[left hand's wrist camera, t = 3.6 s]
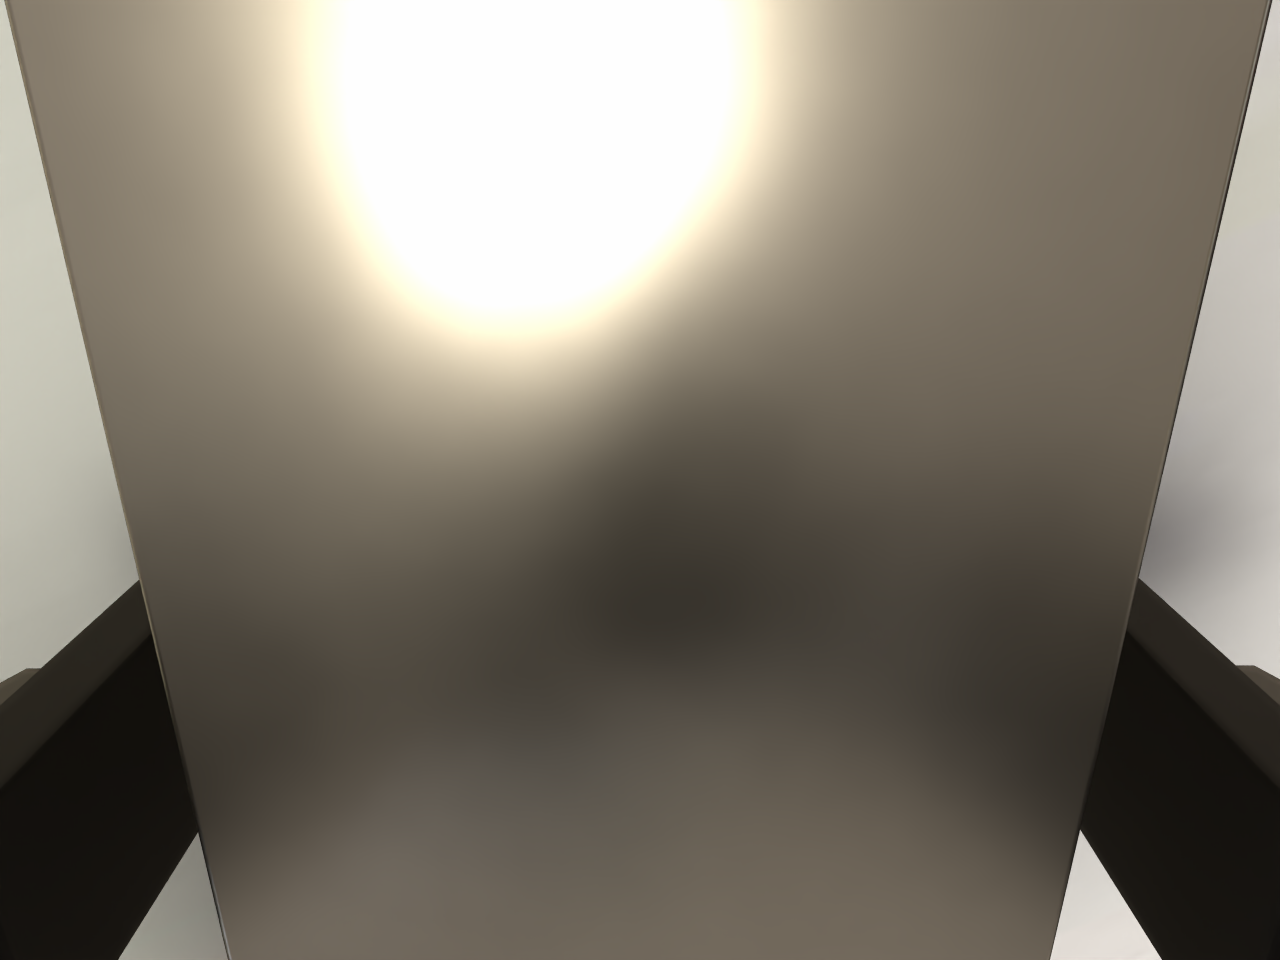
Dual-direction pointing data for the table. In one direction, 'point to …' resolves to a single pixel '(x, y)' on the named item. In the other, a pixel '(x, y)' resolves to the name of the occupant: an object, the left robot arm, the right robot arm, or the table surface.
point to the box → (638, 445)
